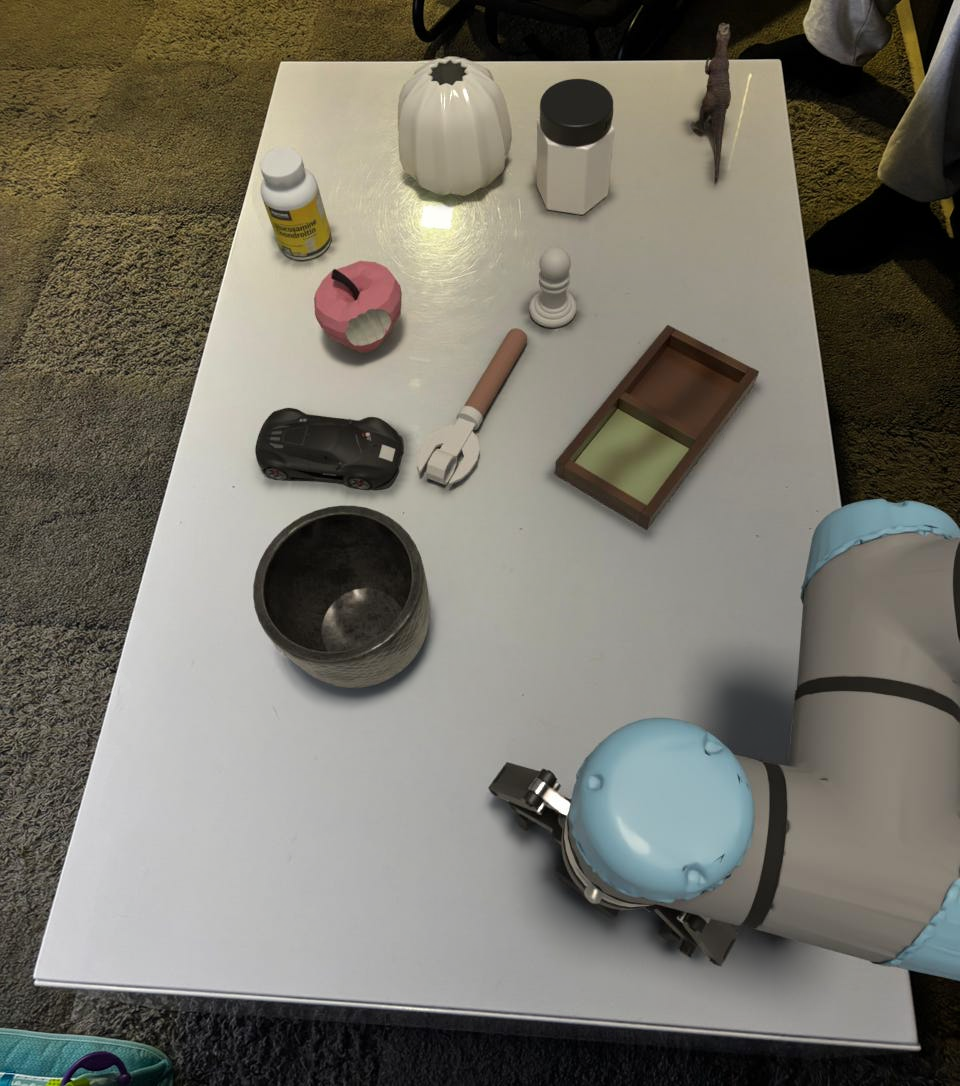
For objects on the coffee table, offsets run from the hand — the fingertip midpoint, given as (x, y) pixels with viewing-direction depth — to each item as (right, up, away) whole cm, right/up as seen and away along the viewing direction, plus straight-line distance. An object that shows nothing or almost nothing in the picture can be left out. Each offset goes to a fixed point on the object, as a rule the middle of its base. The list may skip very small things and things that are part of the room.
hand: (599, 867), depth 67 cm
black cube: (0, 0, 0) cm, 0 cm away
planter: (-20, +18, +10) cm, 29 cm away
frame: (+9, +38, +18) cm, 43 cm away
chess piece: (-1, +53, +26) cm, 59 cm away
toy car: (-25, +36, +19) cm, 48 cm away
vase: (-13, +74, +37) cm, 83 cm away
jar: (+2, +70, +34) cm, 78 cm away
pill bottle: (-31, +63, +33) cm, 78 cm away
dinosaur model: (+19, +77, +36) cm, 87 cm away
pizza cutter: (-10, +41, +21) cm, 47 cm away
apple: (-22, +50, +26) cm, 61 cm away
